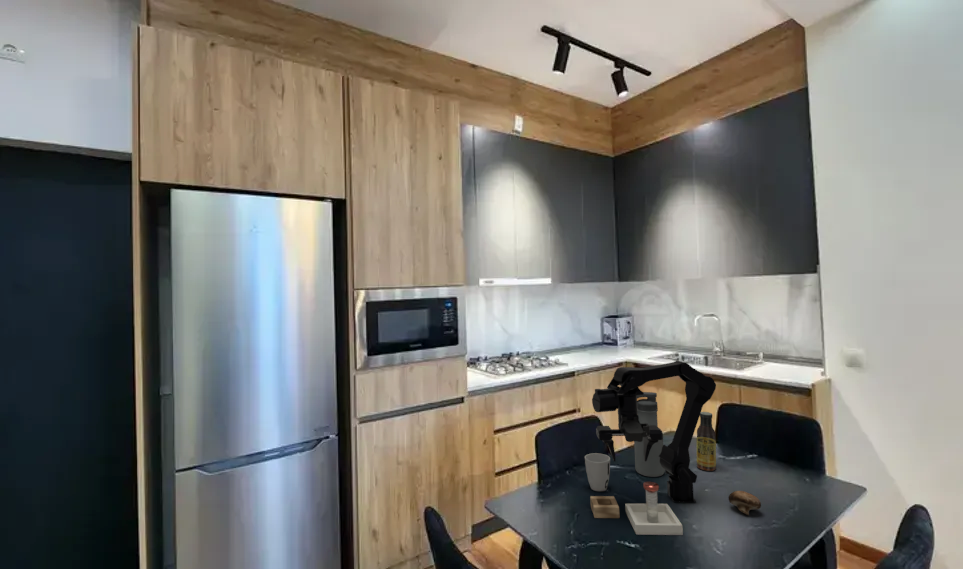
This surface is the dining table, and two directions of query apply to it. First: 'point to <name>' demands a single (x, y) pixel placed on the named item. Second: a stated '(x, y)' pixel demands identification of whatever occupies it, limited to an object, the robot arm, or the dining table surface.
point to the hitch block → (604, 507)
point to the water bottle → (652, 465)
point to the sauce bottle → (706, 443)
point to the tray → (665, 525)
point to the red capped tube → (651, 501)
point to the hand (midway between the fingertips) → (629, 461)
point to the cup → (598, 470)
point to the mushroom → (744, 501)
